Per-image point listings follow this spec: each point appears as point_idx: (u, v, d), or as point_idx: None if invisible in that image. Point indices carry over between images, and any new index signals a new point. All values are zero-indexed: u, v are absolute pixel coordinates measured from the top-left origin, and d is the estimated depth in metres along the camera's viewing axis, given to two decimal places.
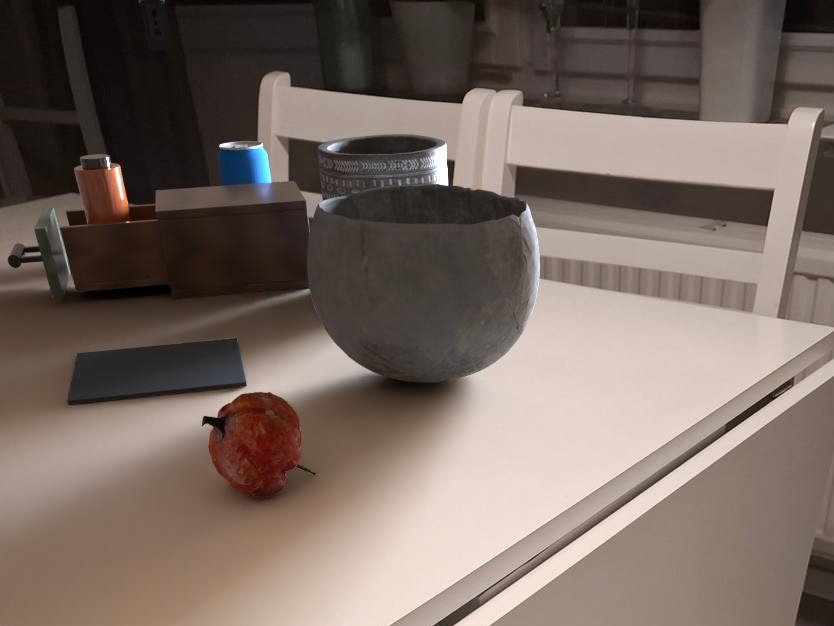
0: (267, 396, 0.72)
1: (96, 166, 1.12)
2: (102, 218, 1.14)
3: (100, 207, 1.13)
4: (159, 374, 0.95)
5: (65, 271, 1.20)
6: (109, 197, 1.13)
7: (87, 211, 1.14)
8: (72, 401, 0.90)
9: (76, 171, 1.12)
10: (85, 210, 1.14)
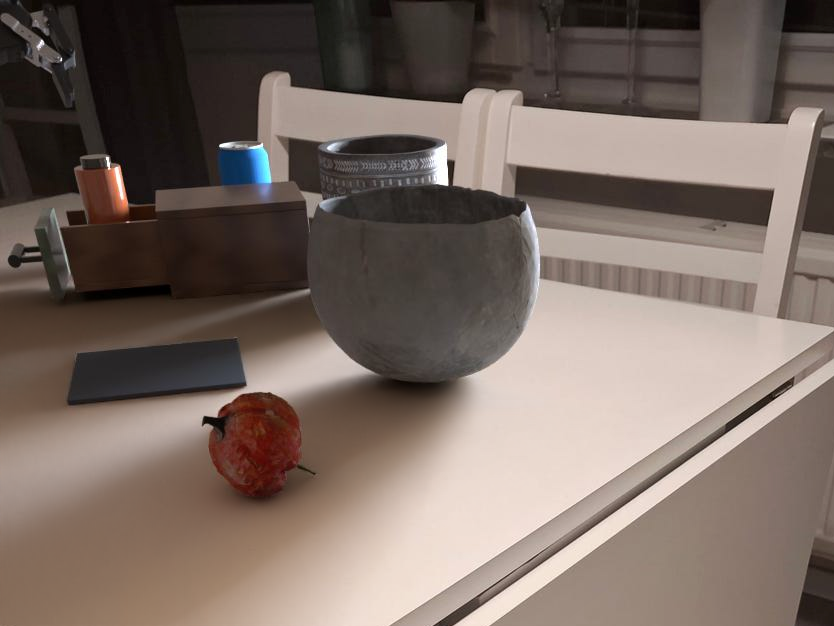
0: (267, 396, 0.72)
1: (96, 166, 1.12)
2: (102, 218, 1.14)
3: (100, 207, 1.13)
4: (159, 374, 0.95)
5: (65, 271, 1.20)
6: (109, 197, 1.13)
7: (87, 211, 1.14)
8: (72, 401, 0.90)
9: (76, 171, 1.12)
10: (85, 210, 1.14)
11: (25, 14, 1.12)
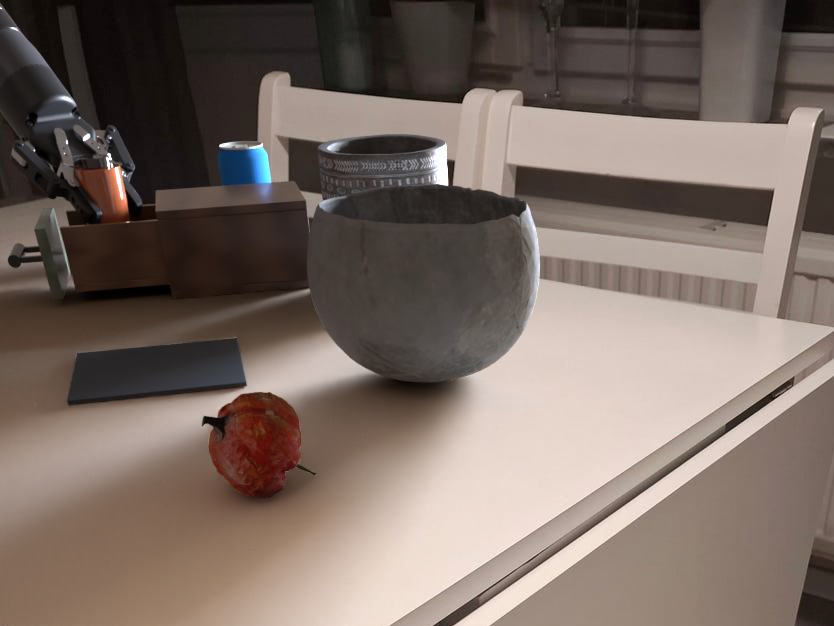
0: (267, 396, 0.72)
1: (96, 166, 1.12)
2: (102, 218, 1.14)
3: (100, 207, 1.13)
4: (159, 374, 0.95)
5: (65, 271, 1.20)
6: (109, 197, 1.13)
7: None
8: (72, 401, 0.90)
9: (76, 171, 1.12)
10: None
11: (89, 127, 1.16)
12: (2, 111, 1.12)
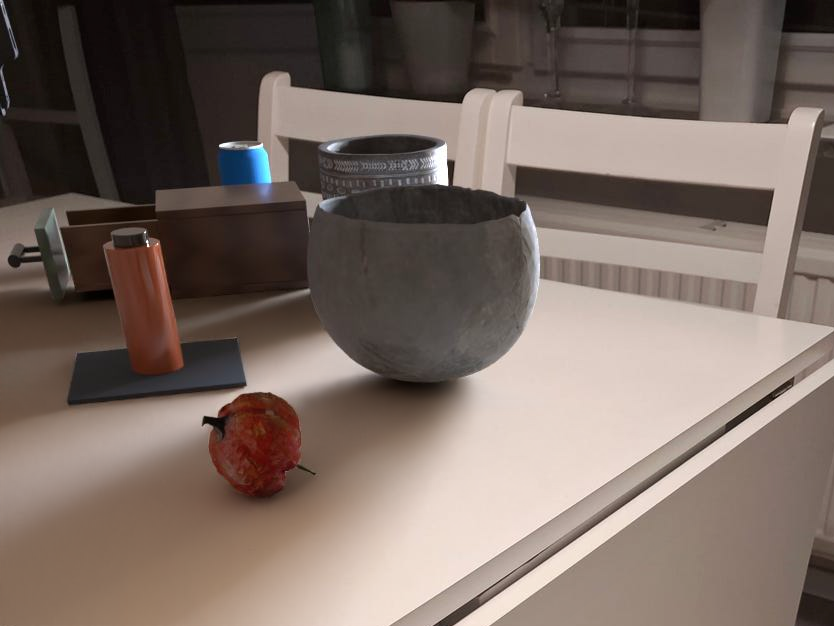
0: (267, 396, 0.72)
1: (131, 244, 0.89)
2: (137, 307, 0.91)
3: (135, 294, 0.91)
4: (159, 374, 0.95)
5: (65, 271, 1.20)
6: (147, 281, 0.91)
7: (119, 297, 0.91)
8: (72, 401, 0.90)
9: (106, 250, 0.89)
10: (116, 297, 0.92)
11: None
12: None
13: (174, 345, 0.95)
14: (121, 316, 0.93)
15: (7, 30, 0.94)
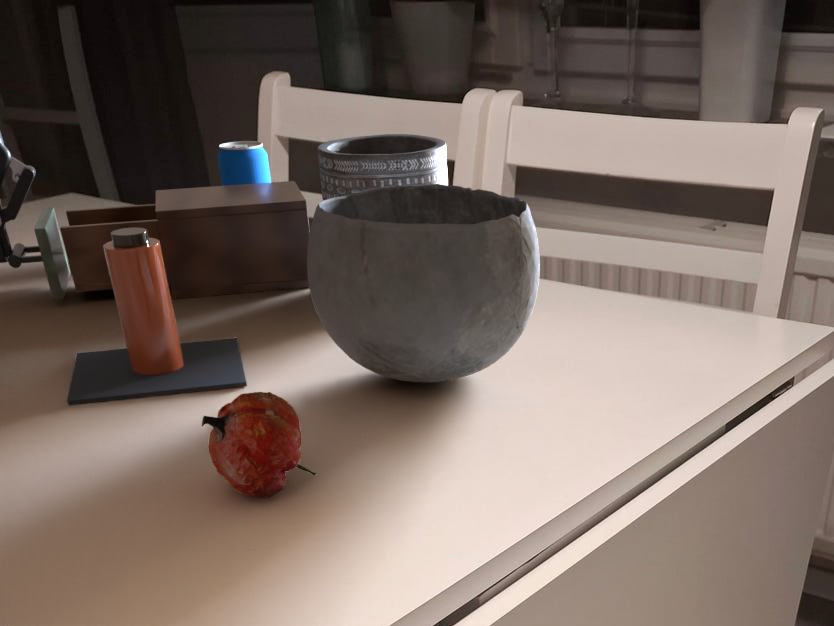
0: (267, 396, 0.72)
1: (131, 244, 0.89)
2: (137, 307, 0.91)
3: (135, 294, 0.91)
4: (159, 374, 0.95)
5: (65, 271, 1.20)
6: (147, 281, 0.91)
7: (119, 297, 0.91)
8: (72, 401, 0.90)
9: (106, 250, 0.89)
10: (116, 297, 0.92)
11: (3, 155, 1.10)
12: None
13: (174, 345, 0.95)
14: (121, 316, 0.93)
15: (21, 202, 1.12)
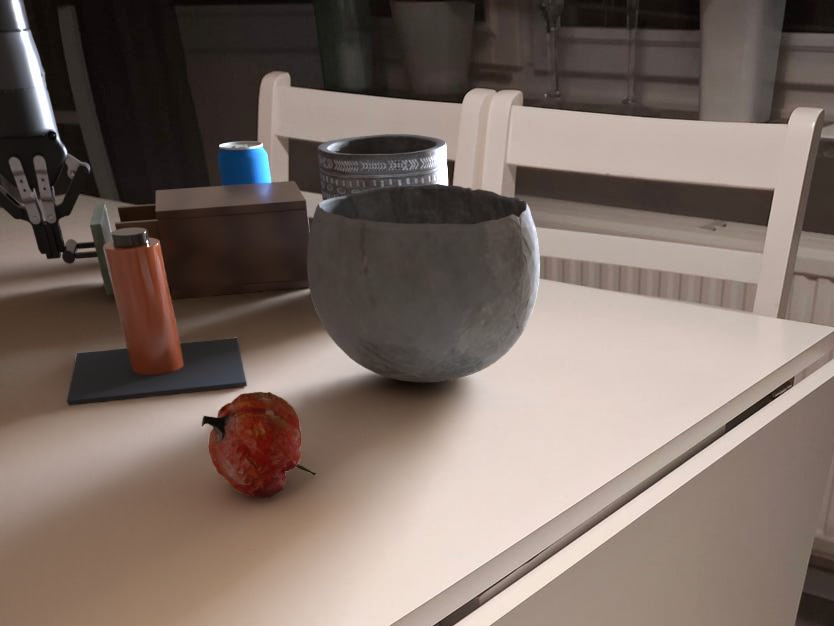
0: (267, 396, 0.72)
1: (131, 244, 0.89)
2: (137, 307, 0.91)
3: (135, 294, 0.91)
4: (159, 374, 0.95)
5: None
6: (147, 281, 0.91)
7: (119, 297, 0.91)
8: (72, 401, 0.90)
9: (106, 250, 0.89)
10: (116, 297, 0.92)
11: (60, 152, 1.11)
12: None
13: (174, 345, 0.95)
14: (121, 316, 0.93)
15: (76, 198, 1.14)
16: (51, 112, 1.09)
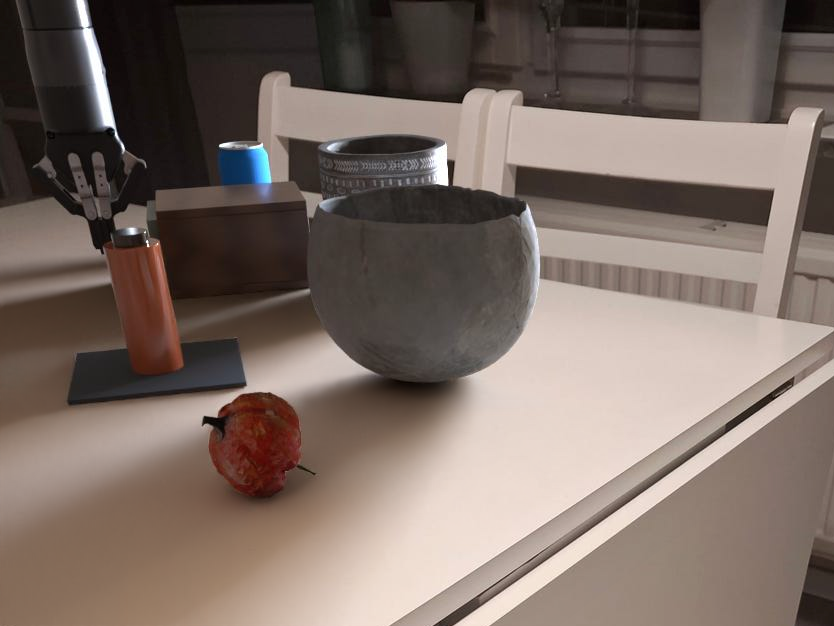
0: (267, 396, 0.72)
1: (131, 244, 0.89)
2: (137, 307, 0.91)
3: (135, 294, 0.91)
4: (159, 374, 0.95)
5: None
6: (147, 281, 0.91)
7: (119, 297, 0.91)
8: (72, 401, 0.90)
9: (106, 250, 0.89)
10: (116, 297, 0.92)
11: (118, 148, 1.12)
12: None
13: (174, 345, 0.95)
14: (121, 316, 0.93)
15: (132, 195, 1.15)
16: (110, 109, 1.10)
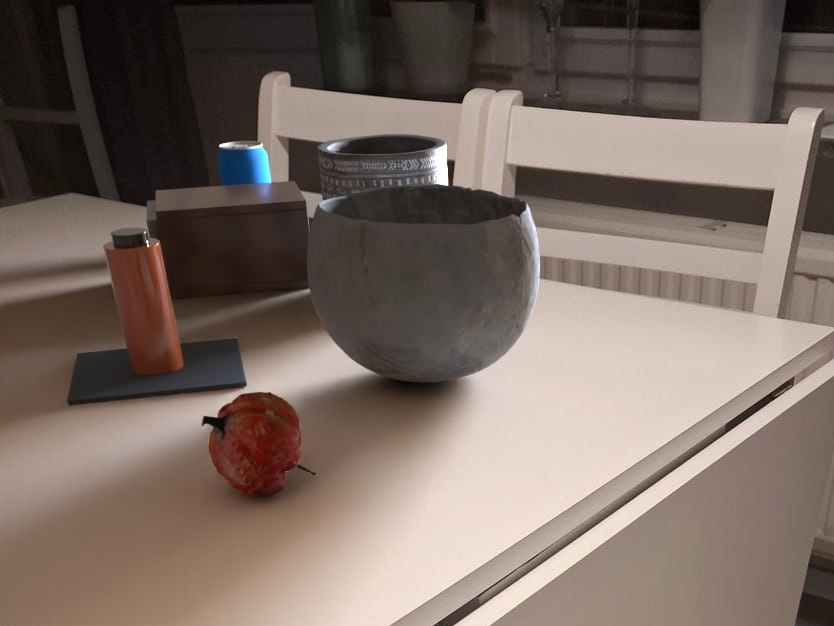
0: (267, 396, 0.72)
1: (131, 244, 0.89)
2: (137, 307, 0.91)
3: (135, 294, 0.91)
4: (159, 374, 0.95)
5: None
6: (147, 281, 0.91)
7: (119, 297, 0.91)
8: (72, 401, 0.90)
9: (106, 250, 0.89)
10: (116, 297, 0.92)
11: None
12: None
13: (174, 345, 0.95)
14: (121, 316, 0.93)
15: None
16: None
